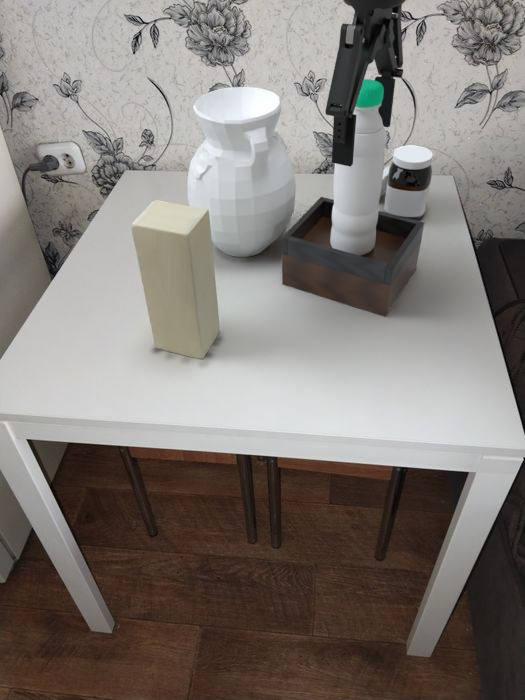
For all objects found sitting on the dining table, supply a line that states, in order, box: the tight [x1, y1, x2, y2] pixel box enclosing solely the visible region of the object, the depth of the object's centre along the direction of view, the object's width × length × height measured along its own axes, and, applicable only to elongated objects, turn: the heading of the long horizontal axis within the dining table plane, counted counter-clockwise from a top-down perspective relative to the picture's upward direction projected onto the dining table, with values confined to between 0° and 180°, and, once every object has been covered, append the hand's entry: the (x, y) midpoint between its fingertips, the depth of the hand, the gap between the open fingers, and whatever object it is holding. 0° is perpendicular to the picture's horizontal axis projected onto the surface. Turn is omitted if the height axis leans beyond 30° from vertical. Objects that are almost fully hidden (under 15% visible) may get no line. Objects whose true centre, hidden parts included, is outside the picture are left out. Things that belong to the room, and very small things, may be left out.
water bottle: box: [330, 78, 388, 256], centre depth 85 cm, size 7×7×25 cm
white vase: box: [186, 86, 297, 258], centre depth 98 cm, size 19×18×25 cm
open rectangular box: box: [281, 196, 425, 318], centre depth 95 cm, size 18×14×9 cm
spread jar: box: [380, 144, 434, 221], centre depth 109 cm, size 12×11×12 cm
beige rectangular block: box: [130, 199, 221, 360], centre depth 81 cm, size 8×7×21 cm
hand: (362, 143), depth 82 cm, fingers open, 13 cm apart
